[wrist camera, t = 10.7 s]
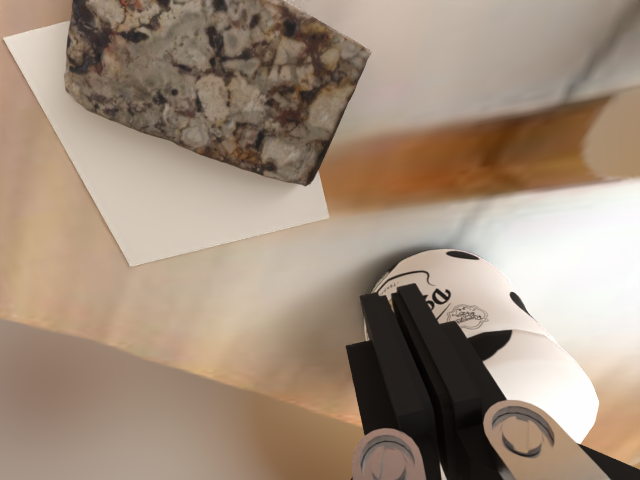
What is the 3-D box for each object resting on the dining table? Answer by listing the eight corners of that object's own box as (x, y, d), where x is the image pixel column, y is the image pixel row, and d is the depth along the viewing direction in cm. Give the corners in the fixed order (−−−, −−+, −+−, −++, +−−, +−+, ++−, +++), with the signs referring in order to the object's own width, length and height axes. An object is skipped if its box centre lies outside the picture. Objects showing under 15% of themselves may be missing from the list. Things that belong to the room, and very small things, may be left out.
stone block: (359, 50, 33) (125, -77, 27) (383, 43, 26) (83, -126, 20) (302, 182, 37) (89, 98, 31) (311, 204, 30) (45, 103, 25)
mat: (271, -32, 28) (271, -33, 28) (329, 217, 38) (329, 218, 38) (5, 38, 29) (2, 37, 29) (131, 265, 39) (130, 266, 39)
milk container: (354, 247, 40) (400, 371, 24) (503, 228, 41) (644, 337, 25) (360, 359, 48) (398, 508, 32) (485, 342, 49) (583, 480, 33)
